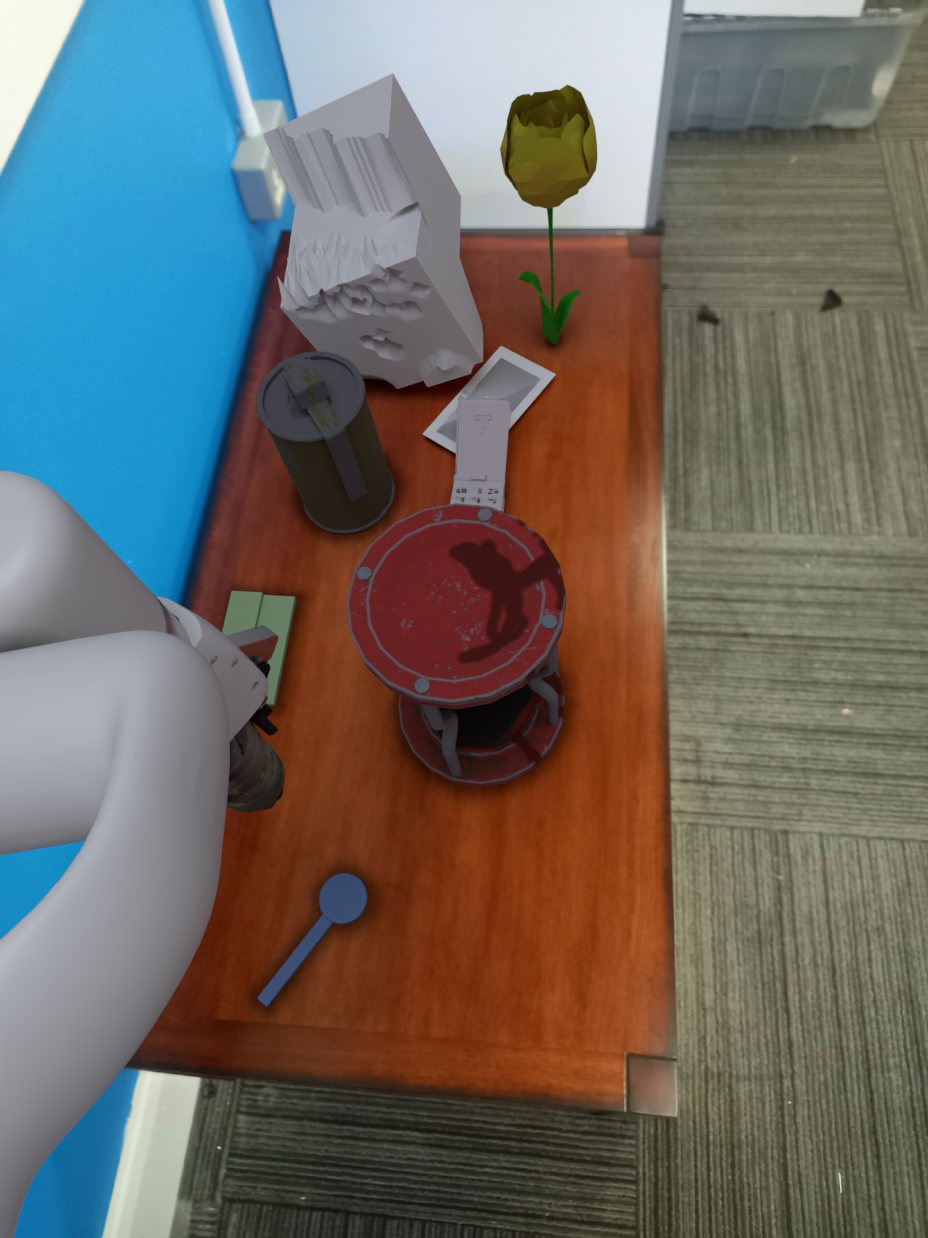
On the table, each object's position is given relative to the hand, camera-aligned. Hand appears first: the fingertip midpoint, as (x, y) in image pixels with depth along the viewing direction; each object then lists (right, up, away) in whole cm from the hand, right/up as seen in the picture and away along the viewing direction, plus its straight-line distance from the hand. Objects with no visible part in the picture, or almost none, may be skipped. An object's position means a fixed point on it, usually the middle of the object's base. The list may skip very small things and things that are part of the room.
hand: (228, 756), depth 61 cm
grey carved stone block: (+8, +43, +47) cm, 64 cm away
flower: (+27, +42, +45) cm, 67 cm away
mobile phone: (+18, +19, +35) cm, 44 cm away
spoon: (+3, -19, +19) cm, 27 cm away
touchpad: (+19, +33, +41) cm, 56 cm away
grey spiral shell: (+1, -4, +9) cm, 10 cm away
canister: (+3, +23, +38) cm, 45 cm away
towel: (-6, +6, +31) cm, 33 cm away
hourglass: (+18, +1, +27) cm, 32 cm away
